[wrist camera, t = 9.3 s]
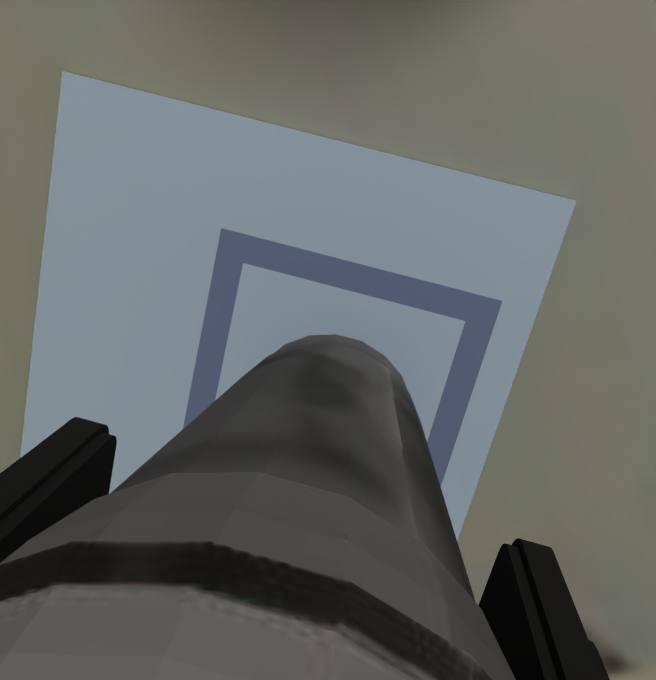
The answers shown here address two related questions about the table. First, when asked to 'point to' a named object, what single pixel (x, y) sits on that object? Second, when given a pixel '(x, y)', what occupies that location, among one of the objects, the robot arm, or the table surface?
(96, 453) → the robot arm
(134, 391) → the paper
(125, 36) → the table surface
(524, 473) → the table surface
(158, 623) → the beverage cup
